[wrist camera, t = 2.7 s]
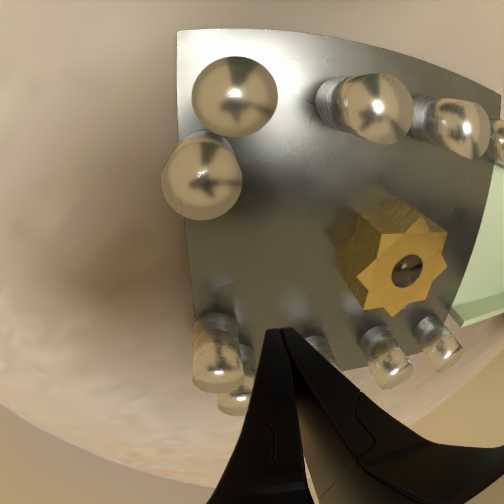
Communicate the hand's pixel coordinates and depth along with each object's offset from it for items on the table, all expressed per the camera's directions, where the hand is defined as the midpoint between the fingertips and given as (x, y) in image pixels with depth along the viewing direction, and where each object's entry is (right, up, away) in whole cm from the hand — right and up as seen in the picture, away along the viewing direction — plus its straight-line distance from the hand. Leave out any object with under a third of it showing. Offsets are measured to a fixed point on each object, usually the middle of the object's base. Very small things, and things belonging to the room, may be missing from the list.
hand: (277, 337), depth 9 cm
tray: (+18, +4, +7) cm, 20 cm away
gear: (+6, +3, +5) cm, 9 cm away
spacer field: (+5, +3, +6) cm, 8 cm away
